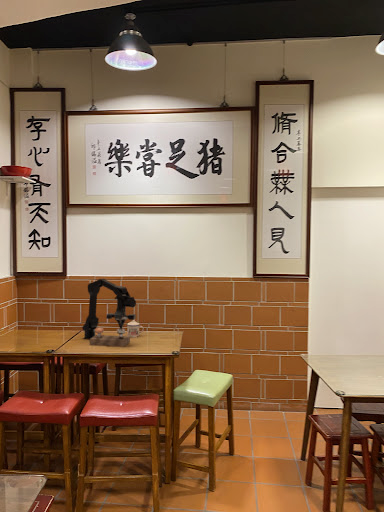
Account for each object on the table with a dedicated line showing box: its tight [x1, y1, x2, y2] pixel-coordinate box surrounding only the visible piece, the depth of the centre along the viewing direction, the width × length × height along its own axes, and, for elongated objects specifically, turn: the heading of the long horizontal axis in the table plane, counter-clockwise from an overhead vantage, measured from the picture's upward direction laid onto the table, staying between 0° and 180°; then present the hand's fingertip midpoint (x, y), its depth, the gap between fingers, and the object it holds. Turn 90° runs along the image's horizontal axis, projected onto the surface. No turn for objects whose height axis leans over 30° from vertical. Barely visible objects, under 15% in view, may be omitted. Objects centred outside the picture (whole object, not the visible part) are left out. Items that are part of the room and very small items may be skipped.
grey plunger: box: [116, 328, 126, 339], centre depth 265 cm, size 5×5×6 cm
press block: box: [89, 334, 131, 348], centre depth 266 cm, size 24×12×4 cm, turn 83°
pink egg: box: [95, 327, 104, 338], centre depth 266 cm, size 5×5×6 cm
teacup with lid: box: [126, 319, 144, 338], centre depth 288 cm, size 12×9×12 cm
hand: (121, 329), depth 264 cm, fingers closed
